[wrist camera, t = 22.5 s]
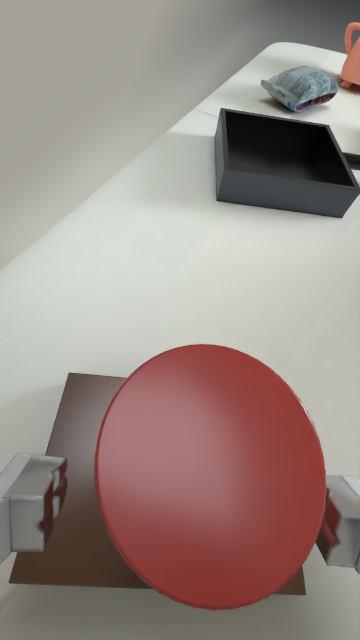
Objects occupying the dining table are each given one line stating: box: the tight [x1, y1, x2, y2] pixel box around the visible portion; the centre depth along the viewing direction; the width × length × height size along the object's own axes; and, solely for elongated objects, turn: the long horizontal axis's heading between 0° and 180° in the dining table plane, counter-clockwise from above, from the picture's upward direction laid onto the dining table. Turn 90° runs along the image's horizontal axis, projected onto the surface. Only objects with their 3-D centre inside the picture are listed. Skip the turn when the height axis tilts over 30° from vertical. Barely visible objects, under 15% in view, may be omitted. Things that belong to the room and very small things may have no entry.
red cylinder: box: [94, 344, 326, 610], centre depth 10 cm, size 5×5×11 cm
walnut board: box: [9, 373, 306, 595], centre depth 16 cm, size 14×10×2 cm
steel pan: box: [215, 108, 360, 218], centre depth 34 cm, size 24×15×4 cm, turn 87°
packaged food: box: [261, 66, 338, 112], centre depth 46 cm, size 9×12×5 cm
